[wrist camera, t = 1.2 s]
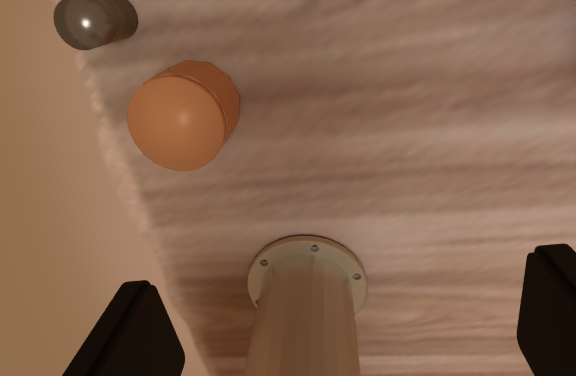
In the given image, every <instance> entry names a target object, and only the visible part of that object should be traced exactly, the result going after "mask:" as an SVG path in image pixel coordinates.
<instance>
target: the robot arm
mask: <svg viewBox="0 0 576 376" xmlns="http://www.w3.org/2000/svg"><path fill="white" fill-rule="evenodd" d="M247 287H248V294H249V296H250V298H251V301H252V303H253V304H254V306H255V307H256V314H255V319H254V324H253V330H252V335H251V340H250V345H249V350H248V355H247V360H246V365H245V370H244V375H243V376H361V375H360V365H359V355H358V344H357V334H356V323H355V315H356V314H357V313H358V311H359V310H360V309H361V307H362V306H363V304H364V301H365V299H366V294H367V281H366V276H365V271H364V269H363V267H362V265H361V263H360V262H359V260H358V259H357V258H356V257H355V255H354V254H353V253H351V252H350V251H349V250H348V249H347V248H345V247H343V246H342V245H340V244H338V243H336V242H334V241H331V240H328V239H325V238H320V237H315V236H295V237H288V238H285V239H282V240H279V241H276V242H274V243H272V244H271V245H269V246H267V247H266V248H265V249H263V250H262V251H261V252H260V253H259V254H258V255H257V257H256V258H255V259H254V261H253V263H252V265H251V267H250V271H249V274H248V281H247ZM517 340H518V344H519V347H520V349H521V351H522V353H523V355H524V357H525V359H526V361H527V362H528V364H529V366H530V368H531V370H532V372H533V374H534V375H535V376H576V252H575V251H574V250H573V249H572V248H571V247H570V246H569V245H567V244H553V245H542V246H537V247H536V248H535V251H534V253H529V254H528V255H527V260H526V268H525V275H524V282H523V290H522V297H521V304H520V312H519V319H518V327H517ZM184 363H185V354H184V351H183V348H182V346H181V343H180V341H179V339H178V337H177V334H176V332H175V330H174V328H173V325H172V323H171V320H170V318H169V316H168V314H167V311H166V309H165V307H164V305H163V302H162V300H161V297H160V295H159V293H158V290H157V288H156V287H155V286H154V285H151V284H150V283H149V282H148V281H145V280H142V281H131V282H125V283H123V284H122V285H121V287H120V288H119V290H118V291H117V293H116V294H115V296H114V297H113V299H112V300H111V302H110V303H109V305H108V307H107V308H106V310H105V311H104V313H103V314H102V316H101V317H100V319H99V320H98V322H97V323H96V325H95V326H94V328H93V330H92V331H91V332H90V334H89V336H88V337H87V338H86V340H85V342H84V343H83V345H82V346H81V348H80V349H79V351H78V352H77V354H76V355H75V357H74V359H73V360H72V362H71V363H70V364H69V366H68V368H67V369H66V371H65V372H64V373H63V375H62V376H181V373H182V370H183V367H184Z"/></svg>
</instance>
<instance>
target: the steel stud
mask: <svg viewBox="0 0 576 376" xmlns="http://www.w3.org/2000/svg"><path fill="white" fill-rule="evenodd" d="M54 24H55V27H56V29H57V32H58V33H59V35H60V36H61V38H62V39H63V40H64V41H65V42H66V43H67V44H69V45H70V46H71V47H73V48H76V49H79V50H90V49H93V48H96V47H100V46H103V45H106V44H109V43H113V42H116V41H119V40H123V39H126V38H129V37H130V36H132V35H133V34H134V33H135V31H136V29H137V25H138V18H137V14H136V11H135V9H134V7H133V6H132V4H131V3H130V2H129V1H128V0H62V1H60V2H59V3H58V4H57V6H56V8H55V11H54Z"/></svg>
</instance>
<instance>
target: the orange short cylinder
mask: <svg viewBox="0 0 576 376" xmlns="http://www.w3.org/2000/svg"><path fill="white" fill-rule="evenodd" d="M239 103H240V98H239V96H238V94H237V92H236V90H235V88H234V86H233V84H232V81H231V79H230V78H229V77H228V76H227V75H225V74H224V73H223V72H221V71H220V70H219V69H217V68H216V67H215V66H213V65H212V64H211V63H205V62H198V61H191V60H187V61H185V62H182V63H180V64H178V65H176V66H174V67H171V68H169V69H167V70H166V71H164V72H162V73H160V74H159V75H157V76H155V77H154V78H152V79H150V80H149V81H147V82H145V83H144V84H143V86H142V87H140V88H139V89H138V90H137V91H136V92H135V94H134V95H133V97H132V99H131V101H130V103H129V107H128V113H127V121H128V127H129V131H130V133H131V136H132V138H133V140H134V142H135V144H136V145H137V146H138V148H139V149H140V150H141V151H142V153H143V154H144V155H146V156H147V157H148V158H149V159H150V160H152V161H153V162H155V163H156V164H158V165H160V166H162V167H165V168H168V169H171V170H177V171H190V170H195V169H198V168H201V167H203V166H205V165H206V164H208V163H209V162H210V161H211V160H213V158H214V157H215V156H216V155H217V153H218V151H219V150H220V148H221V147H222V146H223V144H224V143H225V142H226V140H227V138H228V137H229V135H230V133H231V132H232V130H233V128H234V127H235V125H236V123H237V122H238V119H239Z"/></svg>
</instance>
